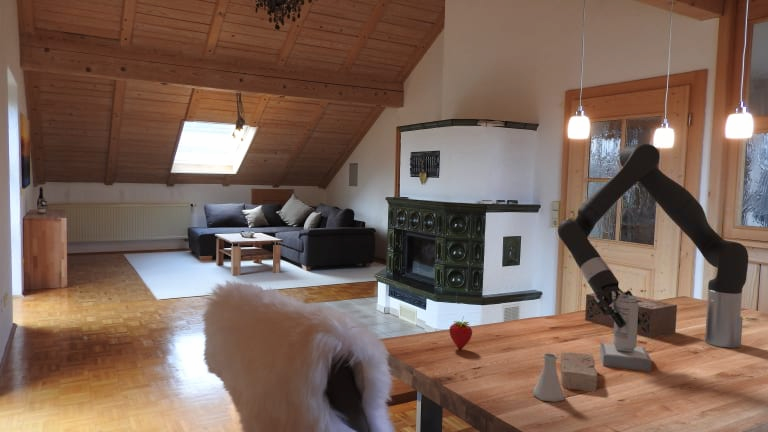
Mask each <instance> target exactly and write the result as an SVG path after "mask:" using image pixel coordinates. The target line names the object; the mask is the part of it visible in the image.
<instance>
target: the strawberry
mask: <svg viewBox="0 0 768 432" xmlns="http://www.w3.org/2000/svg"><path fill="white" fill-rule="evenodd" d="M464 317H465V316H464V315H463V317H462V320H461V321H458V320H457V321H455V320H454V321H453V322H454V323H452V324H451V325H450V326H449V331H448V332H449V335H450V338H451V340H452V342H453V343H454V345H455V346H456V348H457V349H458V350H463V348H464V347H465V346H466V345H467V344H469V342H470V340H471V339H472V336H473V330H472V328H471V326H470V324H469V323H470V322H469V321H463V320H464Z"/></svg>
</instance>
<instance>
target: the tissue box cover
mask: <svg viewBox="0 0 768 432" xmlns="http://www.w3.org/2000/svg"><path fill="white" fill-rule="evenodd" d="M585 296H586V297H585V316H584V320H585V322H590V323H594V324H598V325H601V326H605V327H608V328H612V329H614V320H613V318H612V317H610V316H609V315H606V316H605V315H604V314H603V313H602V311H601V310H600V309H599V308H598V306H597V305H596V304H595V302H594V301H593V298H594V297H595V296H596V294H595V293H594V292H593V293H586V294H585ZM634 296H635V297H636V300H637V302H638V304H639V305H638V306H639V307H638V315H639V317H640V318H641V320H642V322H641V323H640V324H639V325H637V336H641V337H644V338H646V339H647V338H648V339H653V338H658V337H662V336H666V335H671V334H675V333H677V332H676V331H677V330H676V328H677V313H678V311H677V310H678V304H676V303H675V304H674V303H672V302H671V303H669V302H665V301H661V300H657V299H650V298H647V297H641V296H638V295H637V296H636V295H634ZM603 308H604V309H605V310H606V307H605V306H603Z"/></svg>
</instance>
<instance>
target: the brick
mask: <svg viewBox="0 0 768 432" xmlns="http://www.w3.org/2000/svg"><path fill="white" fill-rule="evenodd" d="M559 365H560V377H561V378H560V379H561V380H560V384H561V387H562V388H565V389H569V390H570V389H571V390H572V389H573V390H578V391H585V392H593V393H594V392H596V391H597V385H598V384H597V383H598V373H597V370H596V367H595V358H594V355H593V354H588V353H583V352H582V353H580V352H577V353H576V352H574V353H573V352H563V351H562V352H561V353H560V364H559Z"/></svg>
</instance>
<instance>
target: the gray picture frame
mask: <svg viewBox="0 0 768 432" xmlns="http://www.w3.org/2000/svg"><path fill="white" fill-rule="evenodd" d="M599 353H600V359H601V362H602V366H603V367H609V368H619V369H626V370H627V369H628V370H635V371H636V370H637V371H643V372H652V359H651V357H650V355H649V352H647V349H646V347H641V346H636V348H634V351H621V350H618V349H616V348H615V346H614V345H613V343H603V342H600V347H599Z"/></svg>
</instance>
